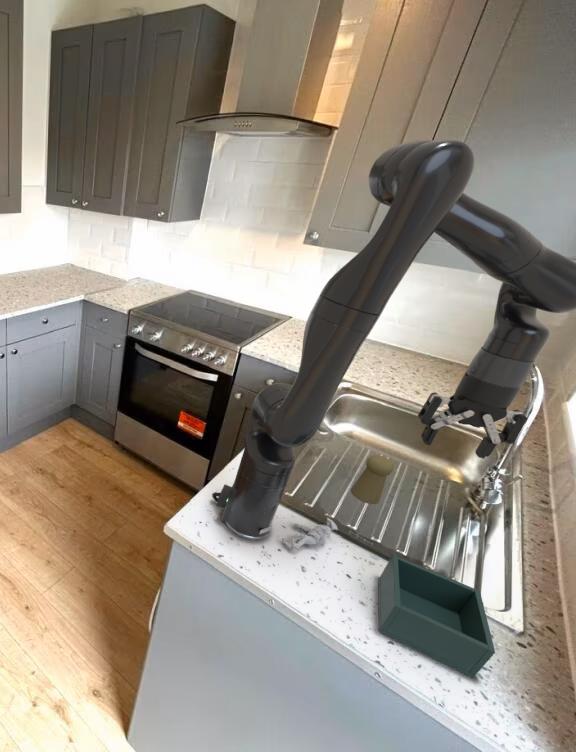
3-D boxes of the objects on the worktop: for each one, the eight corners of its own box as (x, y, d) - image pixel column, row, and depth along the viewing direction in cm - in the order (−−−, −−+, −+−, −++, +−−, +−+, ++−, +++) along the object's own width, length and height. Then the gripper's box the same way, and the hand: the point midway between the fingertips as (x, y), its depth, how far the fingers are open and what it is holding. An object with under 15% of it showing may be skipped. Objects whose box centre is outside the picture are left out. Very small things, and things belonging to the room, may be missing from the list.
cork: (357, 502, 102) (375, 465, 97) (346, 485, 107) (362, 449, 102) (384, 506, 101) (403, 469, 96) (372, 488, 107) (389, 453, 102)
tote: (378, 631, 73) (395, 605, 70) (378, 579, 83) (392, 554, 80) (472, 678, 67) (495, 652, 64) (460, 616, 77) (480, 590, 74)
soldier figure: (272, 537, 92) (309, 507, 95) (285, 558, 91) (322, 527, 95) (297, 541, 84) (336, 508, 88) (312, 564, 84) (351, 529, 87)
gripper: (534, 377, 77) (489, 449, 84) (439, 359, 82) (404, 429, 89) (557, 395, 71) (506, 471, 78) (453, 374, 76) (413, 448, 83)
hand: (451, 449), depth 84 cm, fingers open, 8 cm apart
